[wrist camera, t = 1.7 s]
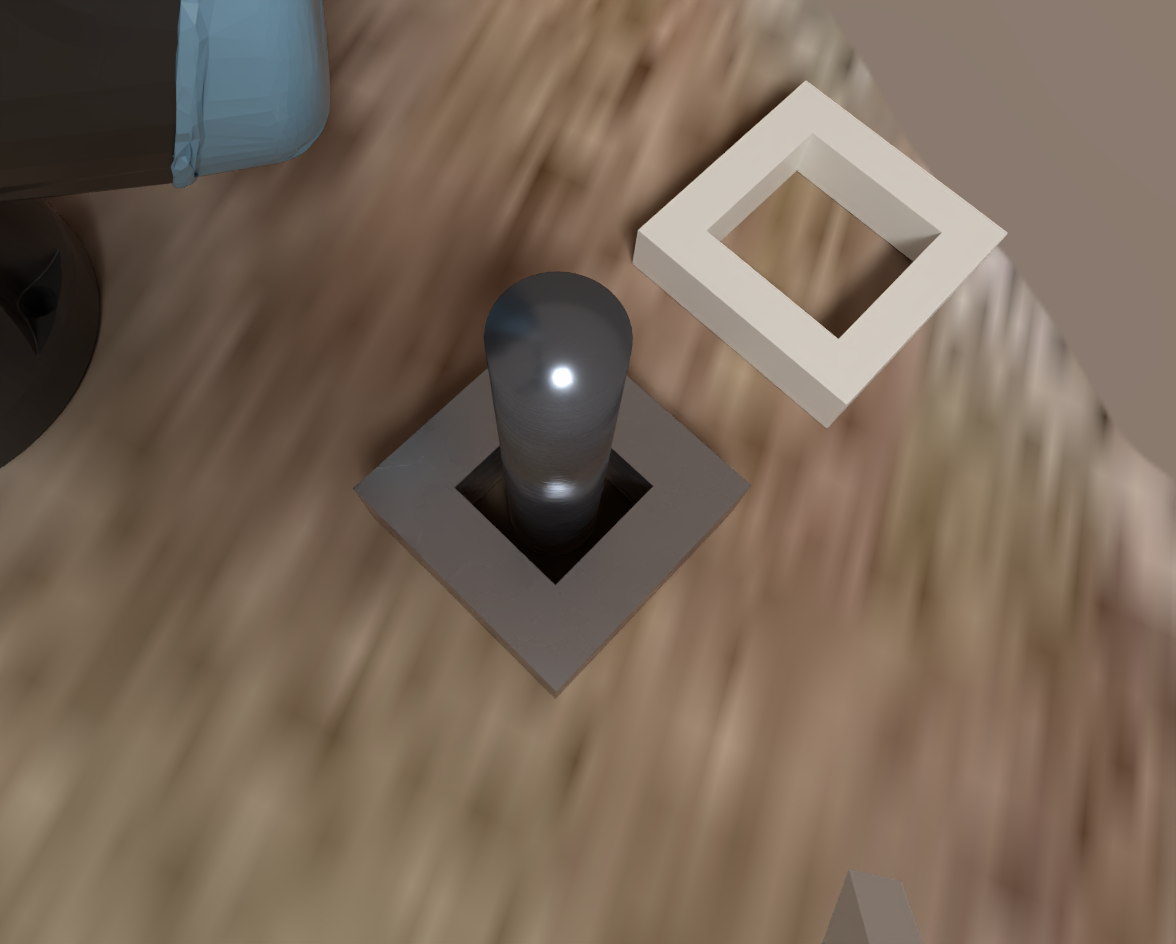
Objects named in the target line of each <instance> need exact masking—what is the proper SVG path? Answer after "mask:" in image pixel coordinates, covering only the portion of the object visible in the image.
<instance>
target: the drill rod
mask: <svg viewBox="0 0 1176 944" xmlns="http://www.w3.org/2000/svg"><path fill="white" fill-rule="evenodd" d="M632 340H633V336H632V328H631V324H630V320H629V318H628V315H627V313H626V311H625V309H624V307H623V306H622V304H621V303H620V301H619V300H618V299H617V298H616V296H615V295H614V294H613V293H611V292H610V291H609V290H608V289H607V288H605V287H604V286H603V285H601V284H600V283H598V282H596V281H594V280H592V279H590V278H588V277H585V276H582V275H579V274H574V273H569V272H546V273H540V274H536V275H533V276H530V277H527V278H525V279H523V280H521V281H519V282H517V283H516V284H514V285H513V286H511V287H510V288H509V289H507V290H506V291H505V292H504V293H503V294H502V295H501V296H500V297H499V298H498V300H497V301H496V302H495V304H494V305H493V307H492V309H491V311H490V313H489V316H488V318H487V321H486V325H485V333H484V343H485V351H486V358H487V364H488V371H489V378H490V384H491V391H492V398H493V404H494V411H495V418H496V424H497V431H498V438H499V444H500V451H501V458H502V464H503V471H504V478H505V484H506V491H507V498H508V504H509V511H510V518H511V523H512V527H513V530H514V532H515V534H516V535H517V537H518V538H519V540H520V541H521V542H522V543H523V544H524V545H525V546H526V547H528V548H529V549H531V550H533V551H535V552H537V553H540V554H543V555H548V556H558V555H564V554H568V553H570V552H573V551H575V550H576V549H578V548H579V547H581V546H582V545H583V544H584V543H585V542H586V541H587V540H588V539H589V537H590V536H591V534H592V532H593V530H594V527H595V524H596V520H597V515H598V510H599V505H600V500H601V495H602V491H603V486H604V481H605V476H606V471H607V467H608V462H609V457H610V452H611V447H612V442H613V438H614V433H615V428H616V423H617V418H618V413H619V409H620V404H621V399H622V394H623V389H624V384H625V380H626V375H627V370H628V365H629V360H630V356H631V350H632Z"/></svg>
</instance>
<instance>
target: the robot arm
mask: <svg viewBox="0 0 1176 944" xmlns="http://www.w3.org/2000/svg"><path fill="white" fill-rule="evenodd" d="M329 109H330V74H329V59H328V46H327V35H326V24H325V13H324V3H323V0H0V468H1V467H2V466H4V465H5V464H7V463H8V462H10V461H11V460H12V459H14V458H15V457H16V456H18V455H19V454H20V453H21V452H22V451H24V450H25V449H26V448H27V447H28V446H30V445H31V444H32V443H33V442H34V441H35V440H36V439H37V438H38V437H39V436H40V435H41V434H42V433H43V432H44V431H45V430H46V429H47V428H48V427H49V426H50V425H51V423H52V422H53V421H54V420H55V419H56V417H57V416H58V415H59V414H60V412H61V411H62V410H63V408H64V407H65V406H66V404H67V403H68V401H69V400H70V398H71V397H72V395H73V393H74V392H75V390H76V388H77V387H78V385H79V383H80V381H81V379H82V377H83V375H84V373H85V370H86V368H87V366H88V363H89V360H90V357H91V355H92V352H93V348H94V344H95V340H96V335H97V329H98V321H99V296H98V288H97V282H96V277H95V274H94V270H93V267H92V264H91V262H90V259H89V257H88V255H87V253H86V251H85V249H84V247H83V245H82V244H81V242H80V240H79V239H78V237H77V236H76V235H75V233H74V232H73V231H72V229H71V228H70V227H69V226H68V225H67V224H66V223H65V222H64V220H63V219H62V218H61V217H60V216H59V215H58V214H57V213H56V212H55V211H54V209H53V208H52V207H51V206H50V205H49V204H48V203H47V202H46V201H45V199H44V198H45V197H54V196H63V195H72V194H80V193H89V192H98V191H107V190H116V189H124V188H133V187H142V186H151V185H160V184H168V183H173V184H172V185H174V187H175V188H183V187H185V186H187V185H191V184H192V183H194V182H195V181H196V179H197V177H199V176H205V175H211V174H217V173H223V172H229V171H235V170H240V169H246V168H252V167H258V166H264V165H270V164H276V163H282V162H285V161H287V160H290V159H292V158H294V157H297V156H299V155H301V154H302V153H304V152H305V151H306V150H307V149H308V148H309V147H310V146H311V145H312V143H313V142H314V141H315V140H316V139H317V138H318V137H319V135H320V134H321V133H322V131H323V129H324V126H325V124H326V121H327V118H328V115H329ZM822 944H923V942H922V939H921V936H920V933H919V931H918V928H917V925H916V922H915V919H914V916H913V913H912V910H911V907H910V904H909V901H908V898H907V895H906V893H905V890H904V887H903V884H902V881H901V880H897V879H892V878H887V877H883V876H878V875H873V874H869V873H864V872H859V871H854V870H850V869H849V871H848V873H847V876H846V879H845V882H844V885H843V887H842V890H841V893H840V896H839V898H838V901H837V904H836V907H835V909H834V912H833V915H832V918H831V920H830V923H829V926H828V929H827V932H826V934H825V937H824V940H823V943H822Z"/></svg>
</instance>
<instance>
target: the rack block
mask: <svg viewBox="0 0 1176 944" xmlns="http://www.w3.org/2000/svg"><path fill="white" fill-rule="evenodd" d="M796 171H798V172H799V173H801V174H802V175H803V176H804V177H806V178H807V179H808V180H809V181H811V182H812V183H813V184H815V185H816V186H817V187H818V188H820V189H821V190H822V191H824V192H825V193H826V194H827V195H829V196H830V197H831V198H832V199H834V200H835V201H836V202H838V203H839V204H840V205H841V206H843V207H844V208H845V209H847V210H848V211H849V212H850V213H852V214H853V215H854V216H855V217H857V218H858V219H859V220H861V221H862V222H863V223H864V224H866V225H867V226H868V227H869V228H871V229H872V230H873V231H875V232H876V233H877V234H878V235H880V236H881V237H882V238H884V239H885V240H886V241H887V242H889V243H890V244H891V245H892V246H894V247H895V248H896V249H898V250H899V251H900V252H901V253H903V254H904V255H905V256H906V257H908V258H909V259H910V260H912V261H913V263H912V264H911V265H910V266H909V267H908V268H907V269H906V270H905V271H904V272H903V273H902V274H901V275H900V276H899V277H898V278H897V279H896V280H895V281H894V282H893V283H892V284H891V285H890V287H889V288H888V289H887V290H886V291H885V292H884V293H883V294H882V295H881V296H880V297H879V298H878V299H877V300H876V301H875V302H874V303H873V304H872V305H871V306H870V307H869V308H868V309H867V310H866V311H865V312H864V313H863V314H862V315H861V316H860V317H859V319H858V320H857V321H856V322H855V323H854V324H853V325H852V326H851V327H850V328H849V329H848V330H847V331H846V332H845V333H844V334H843V335H842V336H841V337H840V338H839V339H838V338H837V337H835V336H834V335H833V334H832V333H830V332H829V331H828V330H827V329H826V328H824V327H823V326H822V325H821V324H819V323H818V322H817V321H816V320H815V319H813V318H812V317H811V316H810V315H809V314H807V313H806V312H805V311H804V310H802V309H801V308H800V307H799V306H798V305H796V304H795V303H794V302H793V301H792V300H790V299H789V298H788V297H787V296H785V295H784V294H783V293H782V292H781V291H779V290H778V289H777V288H776V287H774V286H773V285H772V284H771V283H770V282H768V281H767V280H766V279H765V278H764V277H762V276H761V275H760V274H759V273H757V272H756V271H755V270H754V269H753V268H751V267H750V266H749V265H748V264H746V263H745V262H744V261H743V260H742V259H740V258H739V257H738V256H737V255H736V254H734V253H733V252H732V251H731V250H729V249H728V248H727V247H726V246H725V245H723V244H722V243H721V242H720V241H721V240H723V239H724V238H725V237H726V236H727V235H728V234H729V233H730V232H731V231H732V230H733V229H734V228H735V227H737V226H738V225H739V224H740V223H741V222H742V221H743V220H744V219H745V218H746V217H747V216H748V215H749V214H750V213H752V212H753V211H754V210H755V209H756V208H757V207H758V206H759V205H760V204H761V203H762V202H763V201H764V200H766V199H767V198H768V197H769V196H770V195H771V194H772V193H773V192H774V191H775V190H776V189H777V188H778V187H779V186H781V185H782V184H783V183H784V182H785V181H786V180H787V179H788V178H789V177H790V176H791V175H792V174H793V173H795V172H796ZM1006 235H1007V232H1006V231H1004V230H1003V229H1002V228H1001V227H999V226H998V225H997V224H995V223H994V222H993V221H991V220H990V219H989V218H987V217H986V216H985V215H983V214H982V213H981V212H979V211H978V210H977V209H975V208H974V207H973V206H972V205H970V204H969V203H968V202H966V201H965V200H964V199H962V198H961V197H960V196H958V195H957V194H956V193H954V192H953V191H952V190H950V189H949V188H948V187H946V186H945V185H943V184H942V183H941V182H940V181H938V180H937V179H936V178H934V177H933V176H932V175H931V174H929V173H928V172H927V171H925V170H924V169H923V168H921V167H920V166H919V165H917V164H916V163H915V162H913V161H912V160H911V159H909V158H908V157H907V156H905V155H904V154H903V153H901V152H900V151H899V150H897V149H896V148H895V147H893V146H892V145H891V144H889V143H888V142H887V141H886V140H884V139H883V138H882V137H880V136H879V135H878V134H876V133H875V132H874V131H872V130H871V129H870V128H868V127H867V126H866V125H864V124H863V123H862V122H860V121H859V120H858V119H856V118H855V117H854V116H852V115H851V114H850V113H848V112H847V111H846V110H845V109H843V108H842V107H841V106H839V105H838V104H837V103H835V102H834V101H833V100H831V99H830V98H829V97H827V96H826V95H825V94H823V93H822V92H821V91H819V90H818V89H817V88H815V87H814V86H813V85H811V84H810V83H809V82H807V81H805V82H804V83H802V84H801V85H800V86H799V87H798V88H797V89H796V90H795V91H793V92H792V93H791V94H790V95H789V96H788V97H787V98H786V99H784V100H783V101H782V102H781V103H780V104H779V105H778V106H777V107H776V108H774V109H773V110H772V111H771V112H770V113H769V114H768V115H767V116H765V117H764V118H763V119H762V120H761V121H760V122H759V123H758V124H756V125H755V126H754V127H753V128H752V129H751V130H750V131H749V132H747V133H746V134H745V135H744V136H743V137H742V138H741V139H740V140H739V141H737V142H736V143H735V144H734V145H733V146H732V147H731V148H730V149H728V150H727V151H726V152H725V153H724V154H723V155H722V156H721V157H719V158H718V159H717V160H716V161H715V162H714V163H713V164H712V165H710V166H709V167H708V168H707V169H706V170H705V171H704V172H703V173H702V174H700V175H699V176H698V177H697V178H696V179H695V180H694V181H693V182H691V183H690V184H689V185H688V186H687V187H686V188H685V189H684V190H682V191H681V192H680V193H679V194H678V195H677V196H676V197H675V198H673V199H672V200H671V201H670V202H669V203H668V204H667V205H666V206H665V207H663V208H662V209H661V210H660V211H659V212H658V213H657V214H656V215H654V216H653V217H652V218H651V219H650V220H649V221H648V222H647V223H645V224H644V225H643V226H642V227H641V228H640V229H639V230H638V233H637V239H636V245H635V251H634V256H633V262H632V264H634V265H635V266H636V267H637V268H638V269H639V270H641V271H642V272H643V273H644V274H645V275H647V276H648V277H649V278H650V279H651V280H652V281H654V282H655V283H656V284H657V285H658V286H660V287H661V288H662V289H663V290H664V291H665V292H667V293H668V294H669V295H670V296H671V297H672V298H674V299H675V300H676V301H677V302H678V303H680V304H681V305H682V306H683V307H684V308H685V309H687V310H688V311H689V312H690V313H691V314H692V315H694V316H695V317H696V318H697V319H698V320H700V321H701V322H702V323H703V324H704V325H705V326H707V327H708V328H709V329H710V330H711V331H712V332H714V333H715V334H716V335H717V336H718V337H720V338H721V339H722V340H723V341H724V342H725V343H727V344H728V345H729V346H730V347H731V348H732V349H734V350H735V351H736V352H737V353H738V354H740V355H741V356H742V357H743V358H744V359H745V360H747V361H748V362H749V363H750V364H751V365H753V366H754V367H755V368H756V369H757V370H758V371H760V372H761V373H762V374H763V375H764V376H765V377H767V378H768V379H769V380H770V381H771V382H773V383H774V384H775V385H776V386H777V387H778V388H780V389H781V390H782V391H783V392H784V393H785V394H787V395H788V396H789V397H790V398H791V399H793V400H794V401H795V402H796V403H797V404H798V405H800V406H801V407H802V408H803V409H804V410H805V411H807V412H808V413H809V414H810V415H811V416H813V417H814V418H815V419H816V420H817V421H818V422H820V423H821V424H822V425H823V426H824V427H825V428H828V427H829V426H830V425H831V424H832V423H833V422H834V420H835V419H836V418H837V417H838V416H839V415H840V414H841V413H842V412H843V411H844V410H845V409H846V408H847V407H848V406H849V404H850V403H851V402H852V401H853V400H854V399H855V398H856V397H857V396H858V395H859V394H860V393H861V392H862V391H863V389H864V388H865V387H866V386H867V385H868V384H869V383H870V382H871V381H872V380H873V379H874V378H875V377H876V376H877V375H878V373H879V372H880V371H881V370H882V369H883V368H884V367H885V366H886V365H887V364H888V363H889V362H890V361H891V360H892V358H893V357H894V356H895V355H896V354H897V353H898V352H899V351H900V350H901V349H902V348H903V347H904V346H905V345H906V344H907V342H908V341H909V340H910V339H911V338H912V337H913V336H914V335H915V334H916V333H917V332H918V331H919V330H920V329H921V327H922V326H923V325H924V324H925V323H926V322H927V321H928V320H929V319H930V318H931V317H932V316H933V315H934V314H935V313H936V311H937V310H938V309H939V308H940V307H941V306H942V305H943V304H944V303H945V302H946V301H947V300H948V299H949V298H950V296H951V295H952V294H953V293H954V292H955V291H956V290H957V289H958V288H959V287H960V286H961V285H962V284H963V283H964V282H965V280H966V279H967V278H968V277H969V276H970V275H971V274H972V273H973V272H974V271H975V270H976V269H977V268H978V267H979V265H980V264H981V263H982V262H983V261H984V260H985V259H986V257H987V256H988V255H989V254H990V253H991V252H992V251H993V249H994V248H995V247H996V246H997V245H998V244H999V243H1000V241H1001V240H1002V239H1003V238H1004V237H1005V236H1006Z"/></svg>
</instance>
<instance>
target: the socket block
mask: <svg viewBox="0 0 1176 944" xmlns="http://www.w3.org/2000/svg"><path fill="white" fill-rule="evenodd" d="M503 476H504V471H503V464H502V458H501V451H500V444H499V438H498V431H497V424H496V418H495V411H494V404H493V398H492V391H491V384H490V378H489V371H488V368H487V369H486V370H485V371H484V372H483V373H482V374H480V375H479V376H478V377H477V378H476V379H475V380H474V381H473V382H471V383H470V384H469V385H468V386H467V387H466V388H465V389H464V390H462V391H461V392H460V393H459V394H458V395H457V396H456V397H455V398H454V399H452V400H451V401H450V402H449V403H448V404H447V405H446V406H445V407H443V408H442V409H441V410H440V411H439V412H438V413H437V414H436V415H434V416H433V417H432V418H431V419H430V420H429V421H428V422H427V423H426V424H424V425H423V426H422V427H421V428H420V429H419V430H418V431H417V432H415V433H414V434H413V435H412V436H411V437H410V438H409V439H408V440H407V441H405V442H404V443H403V444H402V445H401V446H400V447H399V448H398V449H396V450H395V451H394V452H393V453H392V454H391V455H390V456H389V457H387V458H386V459H385V460H384V461H383V462H382V463H381V464H380V465H379V466H377V467H376V468H375V469H374V470H373V471H372V472H371V473H370V474H368V475H367V476H366V477H365V478H364V479H363V480H362V481H361V482H359V483H358V484H357V485H356V486H355V487H354V488H353V489H354V490H355V492H356V493H357V494H358V496H359V497H360V499H361V500H362V501H363V503H364V504H365V506H366V507H367V508H368V510H369V511H370V513H371V514H372V515H373V516H374V517H375V518H376V519H377V520H378V521H379V522H380V523H381V524H382V525H383V526H384V527H385V528H386V529H387V530H388V531H389V532H390V533H391V534H392V535H393V536H394V537H395V538H396V539H397V540H398V541H399V542H400V543H401V544H402V545H403V546H404V547H405V548H406V549H407V550H408V551H409V552H410V553H411V554H412V555H413V556H414V557H415V558H416V559H417V560H418V561H419V562H420V563H421V564H422V565H423V566H424V567H425V568H426V569H427V570H428V571H429V572H430V573H431V574H432V575H433V576H434V577H435V578H436V579H437V580H438V581H439V582H440V583H441V584H442V585H443V586H444V587H445V588H446V589H447V590H448V591H449V592H450V593H451V594H452V595H453V596H454V597H455V599H456V600H457V601H458V602H459V603H460V604H461V605H462V606H463V607H464V608H465V609H466V610H467V611H468V612H469V613H470V614H471V615H472V616H473V617H474V618H475V619H476V620H477V621H478V622H479V623H480V624H481V625H482V626H483V627H484V628H485V629H486V630H487V631H488V632H489V633H490V634H491V635H492V636H493V637H494V638H495V639H496V640H497V641H498V642H499V643H500V644H501V645H502V646H503V647H504V648H505V649H506V650H507V651H508V652H509V653H510V654H511V655H512V656H513V657H514V658H515V659H516V660H517V661H518V662H519V663H520V664H521V665H522V666H523V667H524V668H525V669H526V670H527V671H528V672H529V673H530V674H531V675H532V676H533V677H534V678H535V679H536V680H537V681H538V682H539V683H540V684H541V685H542V686H543V687H544V688H545V689H546V690H547V691H548V692H549V693H550V694H551V695H552V696H553V697H554V698H555V699H556V698H557V697H558V695H559V694H560V693H561V692H562V691H563V690H564V689H565V688H566V687H567V686H568V685H569V684H570V683H571V682H572V681H573V680H574V678H575V677H576V676H577V675H578V674H579V673H580V672H581V671H582V670H583V669H584V668H585V667H586V666H587V665H588V664H589V663H590V662H591V660H592V659H593V658H594V657H595V656H596V655H597V654H598V653H599V652H600V651H601V650H602V649H603V648H604V647H605V646H606V645H607V643H608V642H609V641H610V640H611V639H612V638H613V637H614V636H615V635H616V634H617V633H618V632H619V631H620V630H621V629H622V628H623V627H624V625H625V624H626V623H627V622H628V621H629V620H630V619H631V618H632V617H633V616H634V615H635V614H636V613H637V612H638V611H639V610H640V608H641V607H642V606H643V605H644V604H645V603H646V602H647V601H648V600H649V599H650V598H651V597H652V596H653V595H654V594H655V593H656V592H657V590H658V589H659V588H660V587H661V586H662V585H663V584H664V583H665V582H666V581H667V580H668V579H669V578H670V577H671V576H672V575H673V573H674V572H675V571H676V570H677V569H678V568H679V567H680V566H681V565H682V564H683V563H684V562H685V561H686V560H687V559H688V558H689V557H690V555H691V554H692V553H693V552H694V551H695V550H696V549H697V548H698V547H699V546H700V545H701V544H702V543H703V542H704V541H705V540H706V538H707V537H708V536H709V535H710V534H711V533H712V532H713V531H714V530H715V529H716V528H717V527H718V526H719V525H720V524H721V523H722V522H723V520H724V519H725V518H726V517H727V516H728V515H729V514H730V513H731V512H732V511H733V509H734V508H735V507H736V505H737V504H738V503H739V501H740V500H741V499H742V497H743V496H744V495H745V493H746V492H747V491H748V489H749V488H750V487H751V485H750V484H749V483H748V482H747V481H746V480H745V479H743V478H742V477H741V476H740V475H739V474H738V473H737V472H736V471H734V470H733V469H732V468H731V467H730V466H729V465H728V464H727V463H725V462H724V461H723V460H722V459H721V458H720V457H719V456H717V455H716V454H715V453H714V452H713V451H712V450H711V449H710V448H708V447H707V446H706V445H705V444H704V443H703V442H702V441H700V440H699V439H698V438H697V437H696V436H695V435H694V434H693V433H691V432H690V431H689V430H688V429H687V428H686V427H685V426H684V425H682V424H681V423H680V422H679V421H678V420H677V419H676V418H674V417H673V416H672V415H671V414H670V413H669V412H668V411H667V410H665V409H664V408H663V407H662V406H661V405H660V404H659V403H658V402H656V401H655V400H654V399H653V398H652V397H651V396H650V395H648V394H647V393H646V392H645V391H644V390H643V389H642V388H641V387H639V386H638V385H637V384H636V383H635V382H634V381H633V380H632V379H630V378H629V377H628V376H627V375H626V380H625V384H624V389H623V394H622V399H621V404H620V409H619V413H618V418H617V423H616V428H615V433H614V438H613V442H612V447H611V452H610V457H609V462H608V467H607V471H606V476H605V478H606V479H607V480H608V481H609V482H610V483H611V484H612V485H614V486H615V487H616V488H617V489H618V490H619V491H620V492H621V493H622V494H623V495H624V496H626V497H627V498H628V499H629V500H630V501H631V502H632V503H633V504H634V506H633V507H632V508H631V509H630V510H629V511H628V512H627V513H626V514H625V515H624V516H623V517H622V518H621V519H620V521H619V522H618V523H617V524H616V525H615V526H614V527H613V528H612V529H611V530H610V531H609V532H608V533H607V534H606V535H605V536H604V537H603V538H602V539H601V540H600V541H599V542H598V543H597V544H596V545H595V546H594V547H593V548H592V549H591V550H590V551H589V552H588V553H587V554H586V555H585V556H584V557H583V558H582V559H581V560H580V561H579V562H578V563H577V564H576V565H575V566H574V567H573V568H572V569H571V570H570V571H569V572H568V573H567V574H566V575H565V576H564V577H563V578H562V579H561V580H560V581H559V582H558V583H557V584H556V585H555V584H554V583H553V582H551V581H550V580H549V579H548V578H547V577H546V576H545V575H544V574H543V573H542V572H541V571H540V570H539V569H538V568H537V567H536V566H535V565H534V564H533V563H532V562H531V561H530V560H529V559H528V558H527V557H526V556H525V555H524V554H523V553H522V552H520V551H519V550H518V549H517V548H516V547H515V546H514V545H513V544H512V543H511V542H510V541H509V540H508V539H507V538H506V537H505V536H504V535H503V534H502V533H501V532H500V531H499V530H498V529H497V528H496V527H495V526H494V525H493V524H492V523H491V522H489V521H488V520H487V519H486V518H485V517H484V516H483V515H482V514H481V513H480V512H479V511H478V510H477V509H476V508H475V507H474V506H473V505H474V504H475V503H476V502H477V501H478V500H479V499H480V498H481V497H482V496H483V495H484V494H485V493H486V492H487V491H489V490H490V489H491V488H492V487H493V486H494V485H495V484H496V483H497V482H498V481H499V480H500V479H501V478H502V477H503Z"/></svg>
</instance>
